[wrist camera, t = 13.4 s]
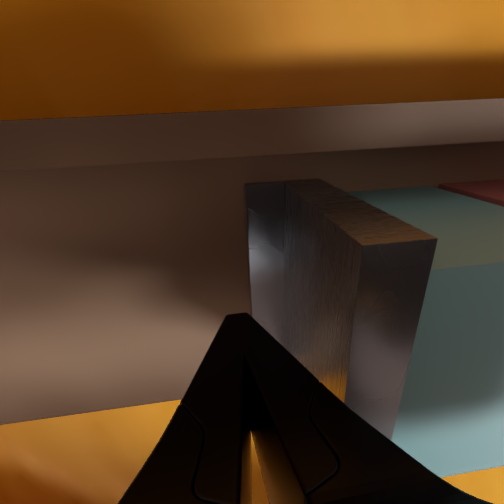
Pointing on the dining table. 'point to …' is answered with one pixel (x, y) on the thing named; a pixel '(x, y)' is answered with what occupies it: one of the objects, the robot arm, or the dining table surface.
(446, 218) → the teal block
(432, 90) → the dining table surface
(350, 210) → the bookend
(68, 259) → the shelf board
